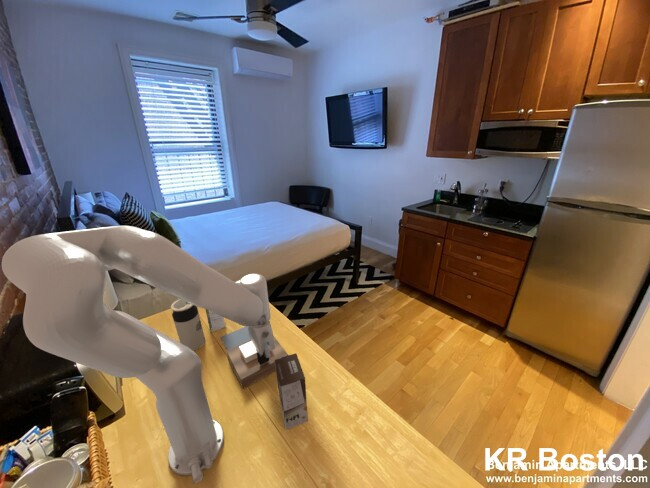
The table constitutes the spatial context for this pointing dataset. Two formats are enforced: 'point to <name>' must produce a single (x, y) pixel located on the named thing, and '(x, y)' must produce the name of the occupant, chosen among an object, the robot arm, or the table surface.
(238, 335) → the mat
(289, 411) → the coffee box
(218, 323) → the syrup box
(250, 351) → the white block
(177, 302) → the travel mug
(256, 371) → the brown stand
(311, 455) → the table surface
